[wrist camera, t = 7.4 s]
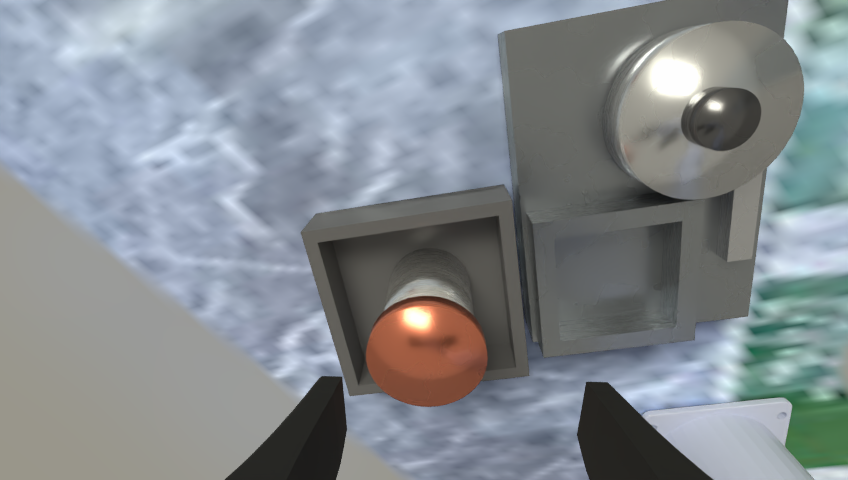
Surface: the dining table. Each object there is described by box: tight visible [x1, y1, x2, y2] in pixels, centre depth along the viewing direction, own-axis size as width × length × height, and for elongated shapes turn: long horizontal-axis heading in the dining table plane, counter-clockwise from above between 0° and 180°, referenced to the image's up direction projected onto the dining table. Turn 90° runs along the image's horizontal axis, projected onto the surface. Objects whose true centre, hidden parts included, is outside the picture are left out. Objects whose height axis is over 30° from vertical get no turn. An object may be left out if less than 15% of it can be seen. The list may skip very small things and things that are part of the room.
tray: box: [301, 184, 529, 396], centre depth 21 cm, size 9×9×2 cm
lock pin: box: [366, 248, 488, 407], centre depth 19 cm, size 5×5×6 cm
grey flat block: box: [498, 0, 804, 358], centre depth 18 cm, size 14×10×5 cm
